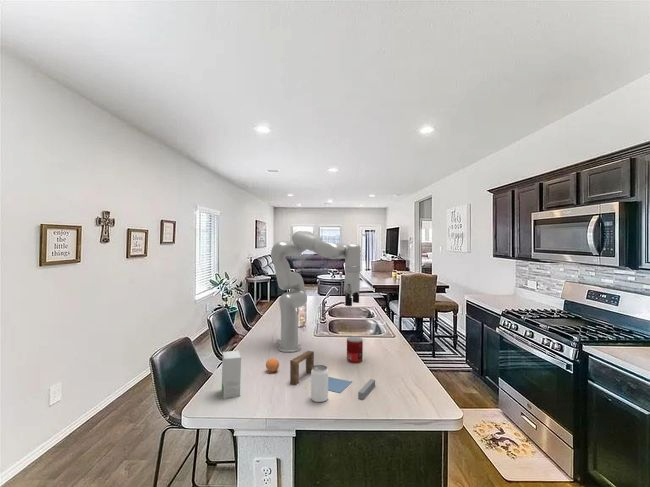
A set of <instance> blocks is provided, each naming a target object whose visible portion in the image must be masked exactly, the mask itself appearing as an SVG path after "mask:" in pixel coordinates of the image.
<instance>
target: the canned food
mask: <svg viewBox="0 0 650 487" xmlns="http://www.w3.org/2000/svg"><path fill="white" fill-rule="evenodd" d="M363 341H364V340H363V338H362V337H360V336H349V337H347V338H346V360H347V362H349V363H352V364H358V363H362V361H363V359H364V358H363V355H364V354H363V350H364V348H363V347H364V344H363V343H364V342H363Z"/></svg>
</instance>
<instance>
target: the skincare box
mask: <svg viewBox="0 0 650 487" xmlns="http://www.w3.org/2000/svg"><path fill="white" fill-rule="evenodd" d="M221 365H222V367H221V393H222V397H223V399H224V400H225V399H231V398H237V397H240V396H241V377H242V375H241V371H242V370H241V369H242V357H241V353H240V352H239V350H230V351H222V364H221Z"/></svg>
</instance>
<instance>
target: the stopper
mask: <svg viewBox="0 0 650 487" xmlns="http://www.w3.org/2000/svg"><path fill="white" fill-rule="evenodd" d="M375 387H376V379H374V378H373V379H372V378H370V379H369V380H368V381H367V382H366V383H365V384H364V385H363V386H362V387H361V389H359V391H358V393H357V399H359V400H364V399H365V398H366V397H367V396H368V395H369V393H371V391H372V390H374V388H375Z"/></svg>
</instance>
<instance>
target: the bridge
mask: <svg viewBox="0 0 650 487" xmlns="http://www.w3.org/2000/svg"><path fill="white" fill-rule="evenodd" d="M314 351H315V350H314ZM314 351H313V350H307V351H305V352H303V353H301V354H299V355H297V356H296V357H294V358H293V359H291V360H290V361H289V366H290V367H289V368H290V369H289V376H290V377H289V382H290V384H291V385H293V386H294V385H295V386H297V385H299V383H300V382H299V380H300V369H299V368H300V363H301V362H303V361H304V360H305V374H309V375H311V371H312V367H313V366H315V365H314V364H315V363H314V361H315V360H314V359H315V355H314V353H315V352H314Z"/></svg>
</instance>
